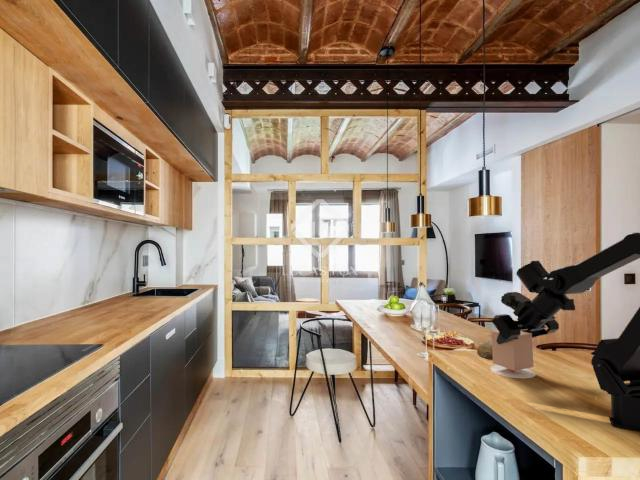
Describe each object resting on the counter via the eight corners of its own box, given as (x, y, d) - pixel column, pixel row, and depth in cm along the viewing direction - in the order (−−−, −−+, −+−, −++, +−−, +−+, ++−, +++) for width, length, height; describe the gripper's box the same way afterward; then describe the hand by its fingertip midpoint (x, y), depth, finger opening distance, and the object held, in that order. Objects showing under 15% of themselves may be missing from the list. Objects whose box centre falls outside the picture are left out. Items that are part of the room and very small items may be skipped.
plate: (535, 384, 90) (534, 381, 90) (487, 377, 96) (487, 373, 96) (536, 372, 99) (536, 368, 99) (493, 365, 105) (493, 362, 105)
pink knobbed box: (533, 367, 95) (531, 330, 96) (514, 370, 93) (513, 333, 93) (510, 360, 102) (509, 325, 102) (492, 363, 99) (491, 328, 100)
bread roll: (477, 371, 111) (475, 350, 108) (478, 349, 119) (477, 330, 117) (512, 375, 106) (512, 354, 104) (511, 353, 115) (511, 333, 112)
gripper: (546, 281, 98) (513, 315, 108) (496, 284, 91) (465, 320, 101) (577, 314, 90) (538, 347, 100) (525, 320, 83) (489, 355, 93)
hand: (507, 341), depth 99 cm, fingers closed on pink knobbed box, 7 cm apart
